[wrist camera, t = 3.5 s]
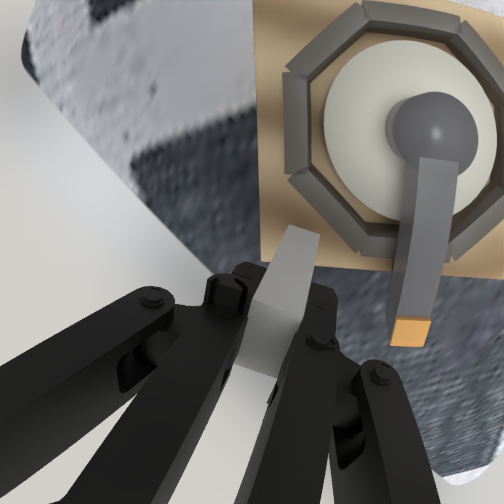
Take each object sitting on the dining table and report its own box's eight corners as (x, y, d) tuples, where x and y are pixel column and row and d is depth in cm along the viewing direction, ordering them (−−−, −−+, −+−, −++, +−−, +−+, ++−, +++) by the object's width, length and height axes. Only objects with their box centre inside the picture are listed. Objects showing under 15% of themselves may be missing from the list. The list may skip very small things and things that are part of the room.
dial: (322, 41, 14) (313, 6, 9) (483, 63, 12) (533, 48, 7) (319, 281, 20) (310, 339, 15) (459, 291, 18) (487, 347, 13)
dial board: (259, 0, 16) (239, -25, 12) (510, 30, 11) (540, 18, 7) (267, 249, 23) (251, 278, 19) (495, 267, 19) (519, 297, 15)
